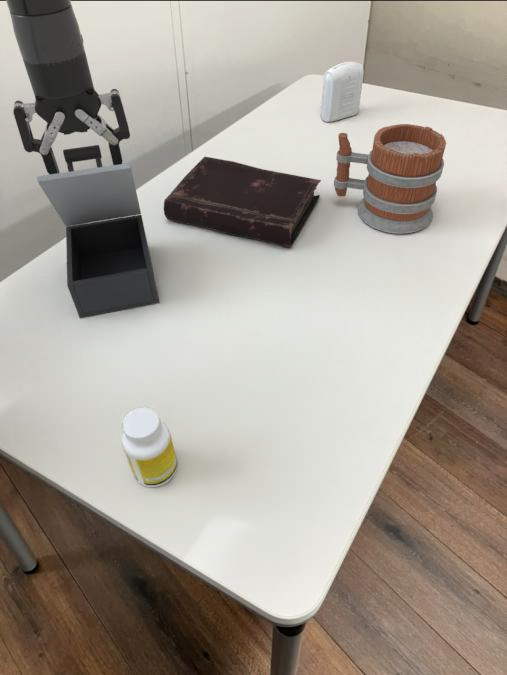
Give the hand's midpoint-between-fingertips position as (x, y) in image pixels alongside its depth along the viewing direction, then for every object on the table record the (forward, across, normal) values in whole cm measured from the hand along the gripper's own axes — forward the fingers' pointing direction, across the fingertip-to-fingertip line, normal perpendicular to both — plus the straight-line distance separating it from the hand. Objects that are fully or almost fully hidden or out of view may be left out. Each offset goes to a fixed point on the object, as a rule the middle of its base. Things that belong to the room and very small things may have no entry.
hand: (87, 171), depth 75 cm
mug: (+19, +51, +3) cm, 54 cm away
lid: (+5, 0, 0) cm, 5 cm away
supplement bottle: (+19, +2, -40) cm, 44 cm away
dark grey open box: (+19, 0, -3) cm, 19 cm away
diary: (+19, +26, +11) cm, 34 cm away
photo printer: (+19, +59, +45) cm, 77 cm away
